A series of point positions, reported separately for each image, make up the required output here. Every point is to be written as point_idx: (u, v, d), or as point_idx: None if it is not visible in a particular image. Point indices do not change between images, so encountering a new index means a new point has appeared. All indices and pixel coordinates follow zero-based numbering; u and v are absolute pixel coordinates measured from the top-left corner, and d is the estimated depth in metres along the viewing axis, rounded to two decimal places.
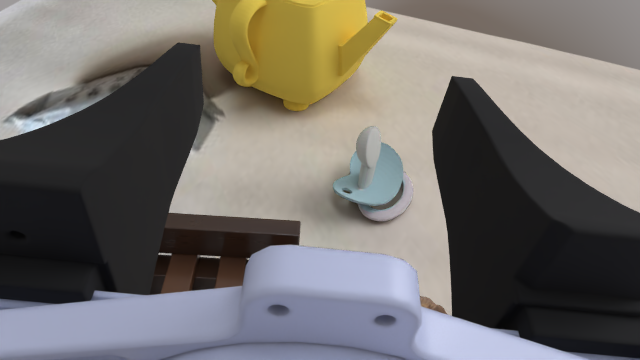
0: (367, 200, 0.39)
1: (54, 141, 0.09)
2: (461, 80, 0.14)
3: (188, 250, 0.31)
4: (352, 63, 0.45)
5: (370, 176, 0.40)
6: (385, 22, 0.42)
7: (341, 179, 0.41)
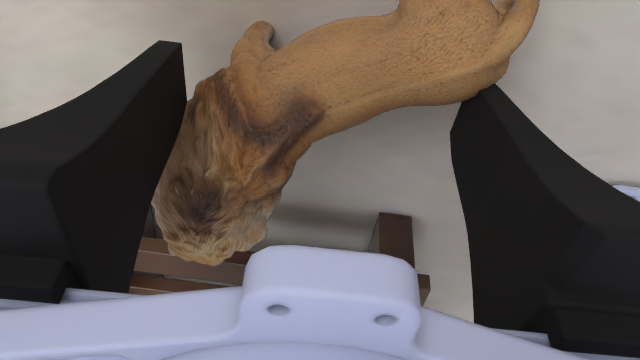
0: None
1: (26, 137, 0.09)
2: None
3: None
4: None
5: None
6: None
7: None
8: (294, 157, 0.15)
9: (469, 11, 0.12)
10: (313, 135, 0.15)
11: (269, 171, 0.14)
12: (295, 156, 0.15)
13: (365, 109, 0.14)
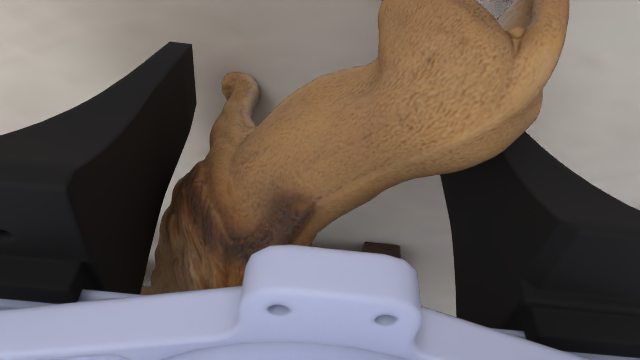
0: None
1: (42, 139, 0.09)
2: None
3: None
4: None
5: None
6: None
7: None
8: None
9: (467, 50, 0.09)
10: (311, 230, 0.12)
11: None
12: None
13: (365, 192, 0.11)
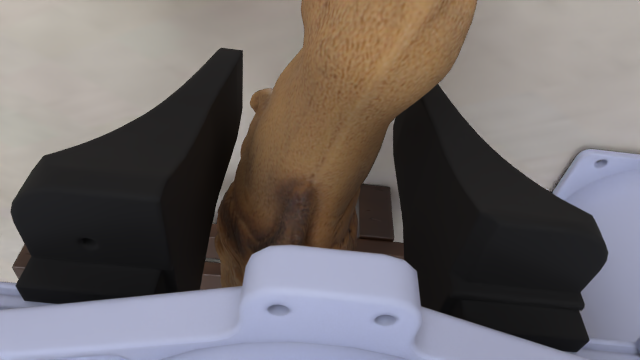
0: None
1: (121, 148, 0.09)
2: None
3: None
4: None
5: None
6: None
7: None
8: (327, 240, 0.12)
9: None
10: (328, 208, 0.12)
11: None
12: (327, 239, 0.12)
13: (349, 155, 0.11)
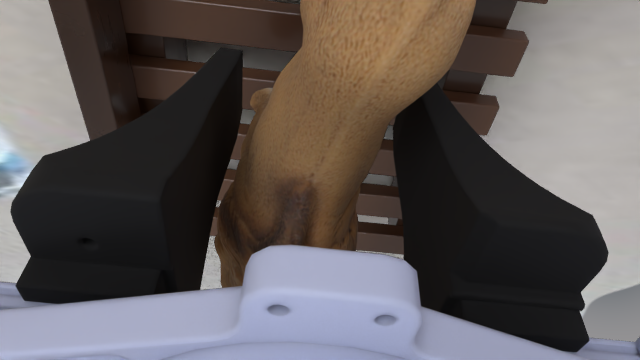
0: None
1: (122, 148, 0.09)
2: None
3: (116, 11, 0.18)
4: None
5: None
6: None
7: None
8: (327, 240, 0.12)
9: None
10: (327, 208, 0.12)
11: None
12: (327, 238, 0.12)
13: (348, 154, 0.11)
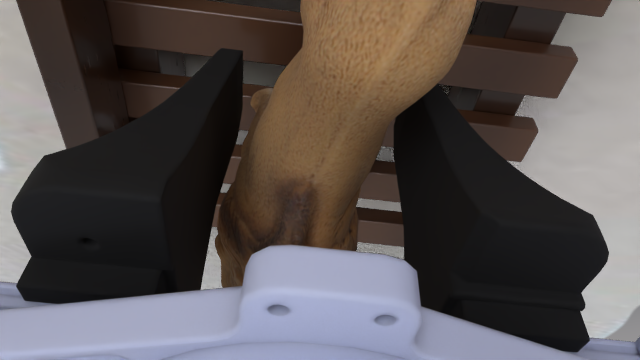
0: None
1: (122, 148, 0.09)
2: None
3: None
4: None
5: None
6: None
7: None
8: (327, 240, 0.12)
9: None
10: (328, 209, 0.12)
11: None
12: (328, 239, 0.12)
13: (349, 155, 0.11)
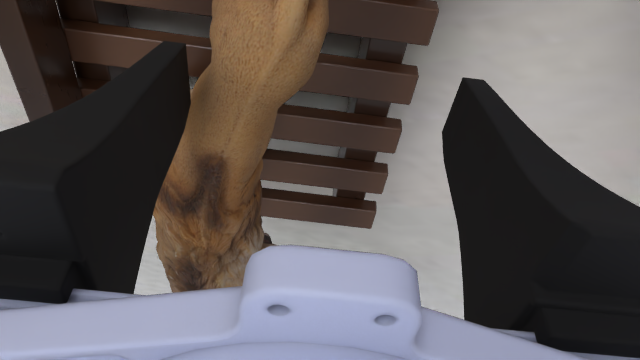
0: None
1: (33, 138, 0.09)
2: (472, 82, 0.14)
3: None
4: None
5: None
6: None
7: None
8: (236, 200, 0.17)
9: (240, 18, 0.13)
10: (235, 176, 0.16)
11: (217, 226, 0.16)
12: (236, 199, 0.17)
13: (247, 136, 0.15)
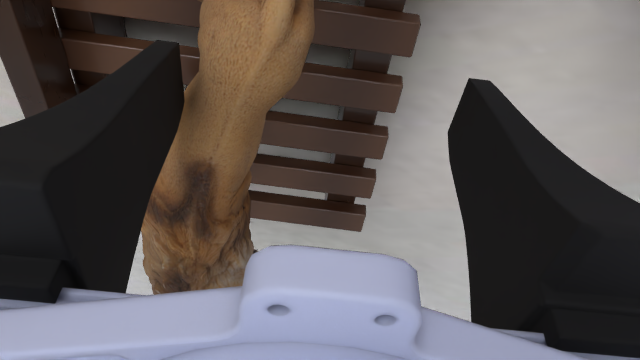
0: None
1: (22, 137, 0.09)
2: (478, 83, 0.14)
3: None
4: None
5: None
6: None
7: None
8: (225, 210, 0.17)
9: (228, 19, 0.13)
10: (223, 184, 0.16)
11: (206, 235, 0.16)
12: (225, 208, 0.17)
13: (236, 141, 0.15)
